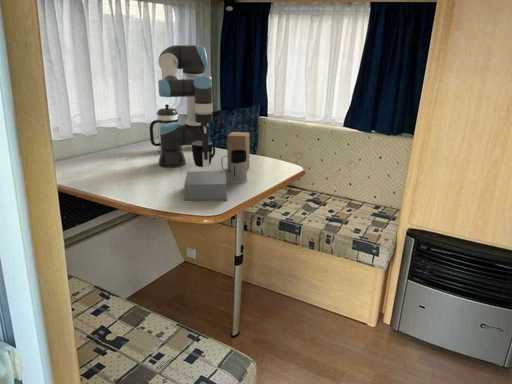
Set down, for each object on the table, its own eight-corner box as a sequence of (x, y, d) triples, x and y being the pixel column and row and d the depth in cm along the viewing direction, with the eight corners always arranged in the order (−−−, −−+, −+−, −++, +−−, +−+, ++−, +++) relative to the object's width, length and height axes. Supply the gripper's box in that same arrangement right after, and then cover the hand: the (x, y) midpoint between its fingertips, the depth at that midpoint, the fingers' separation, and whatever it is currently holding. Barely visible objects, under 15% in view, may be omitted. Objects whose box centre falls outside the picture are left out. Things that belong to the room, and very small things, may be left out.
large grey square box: (187, 187, 200) (186, 171, 197) (225, 186, 202) (225, 170, 199) (184, 202, 180) (183, 185, 178) (227, 201, 182) (226, 184, 180)
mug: (202, 169, 180) (201, 146, 177) (188, 165, 186) (187, 143, 182) (221, 163, 189) (221, 141, 185) (208, 160, 194) (207, 138, 191)
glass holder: (250, 181, 208) (251, 152, 203) (225, 185, 201) (225, 155, 196) (242, 176, 215) (242, 148, 210) (217, 181, 208) (217, 152, 203)
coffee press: (161, 148, 273) (157, 102, 263) (184, 149, 271) (182, 103, 261) (151, 154, 257) (147, 106, 247) (176, 156, 255) (173, 106, 245)
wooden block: (245, 173, 222) (245, 136, 215) (227, 171, 224) (227, 135, 217) (249, 168, 231) (249, 132, 225) (232, 166, 233) (231, 131, 227)
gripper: (194, 109, 188) (196, 157, 196) (195, 117, 168) (198, 170, 175) (210, 109, 189) (211, 157, 197) (214, 116, 169) (215, 169, 177)
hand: (205, 163), depth 186 cm, fingers closed on mug, 9 cm apart
